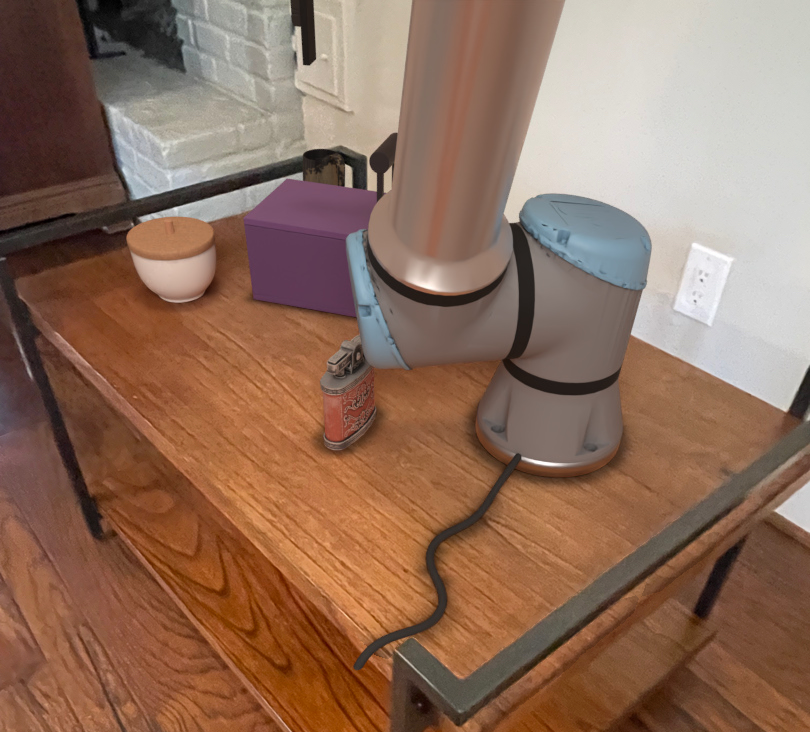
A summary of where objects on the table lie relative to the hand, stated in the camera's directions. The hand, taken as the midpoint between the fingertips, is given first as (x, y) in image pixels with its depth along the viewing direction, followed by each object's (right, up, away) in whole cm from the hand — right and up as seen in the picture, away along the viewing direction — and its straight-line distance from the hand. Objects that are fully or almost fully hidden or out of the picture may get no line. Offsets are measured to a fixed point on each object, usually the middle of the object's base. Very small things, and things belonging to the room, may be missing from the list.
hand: (370, 68), depth 82 cm
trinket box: (-26, -19, +18) cm, 36 cm away
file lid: (-6, -10, +13) cm, 17 cm away
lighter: (-2, -40, -2) cm, 40 cm away
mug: (-8, -6, +31) cm, 33 cm away
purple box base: (-6, -17, +20) cm, 27 cm away
